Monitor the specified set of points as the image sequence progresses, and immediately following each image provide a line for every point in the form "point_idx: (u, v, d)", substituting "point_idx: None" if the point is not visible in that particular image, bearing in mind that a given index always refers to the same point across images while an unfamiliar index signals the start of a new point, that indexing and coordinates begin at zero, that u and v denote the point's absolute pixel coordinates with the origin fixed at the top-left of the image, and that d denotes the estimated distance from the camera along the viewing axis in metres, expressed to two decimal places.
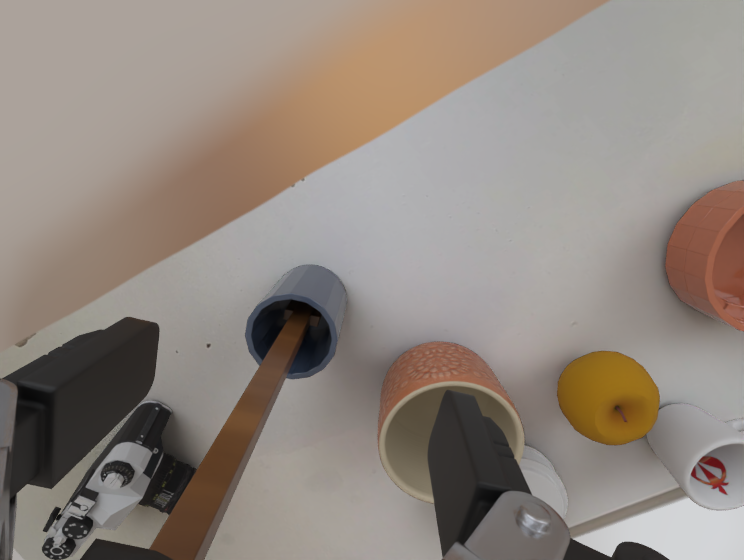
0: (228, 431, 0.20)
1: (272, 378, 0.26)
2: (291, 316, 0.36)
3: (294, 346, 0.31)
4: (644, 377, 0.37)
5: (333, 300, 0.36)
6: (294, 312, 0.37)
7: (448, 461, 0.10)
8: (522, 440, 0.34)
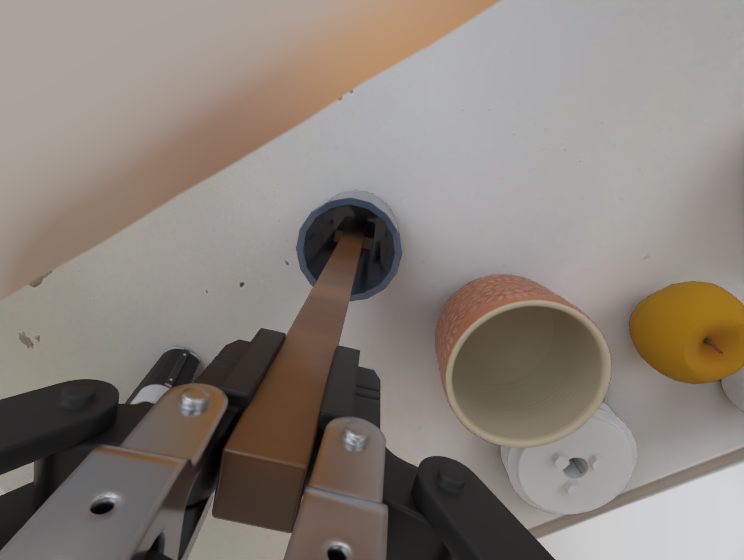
0: (318, 297, 0.16)
1: (347, 267, 0.22)
2: (345, 232, 0.32)
3: (359, 251, 0.26)
4: (739, 304, 0.33)
5: (391, 216, 0.32)
6: (347, 230, 0.32)
7: None
8: (609, 370, 0.30)
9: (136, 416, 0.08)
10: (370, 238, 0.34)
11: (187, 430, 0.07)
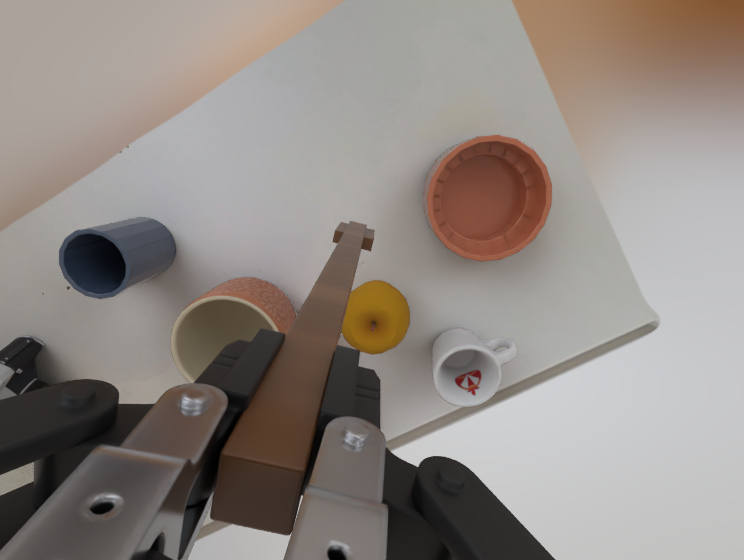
0: (317, 298, 0.16)
1: (347, 269, 0.22)
2: (345, 233, 0.32)
3: (359, 251, 0.26)
4: (390, 296, 0.46)
5: (139, 238, 0.46)
6: (347, 231, 0.33)
7: None
8: None
9: (136, 417, 0.08)
10: (370, 239, 0.34)
11: (187, 430, 0.07)
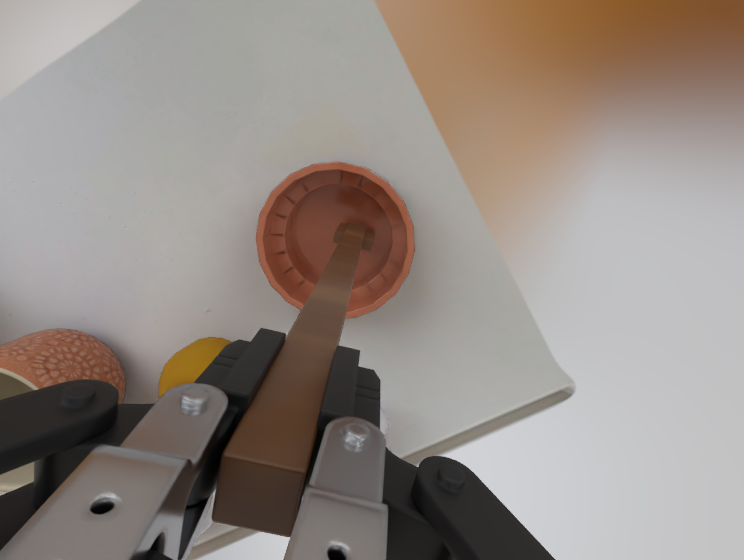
0: (317, 299, 0.16)
1: (347, 269, 0.22)
2: (345, 233, 0.32)
3: (359, 252, 0.26)
4: None
5: None
6: (347, 231, 0.33)
7: None
8: None
9: (136, 416, 0.08)
10: (370, 239, 0.34)
11: (187, 430, 0.07)
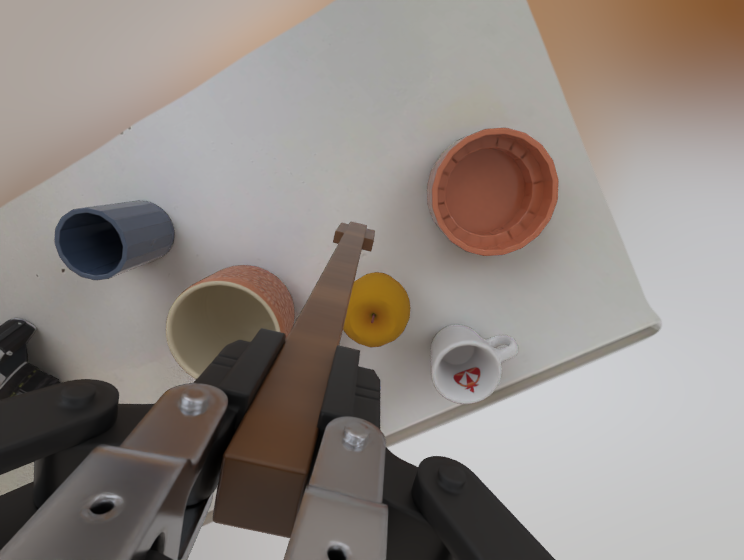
0: (318, 299, 0.16)
1: (347, 269, 0.22)
2: (345, 233, 0.32)
3: (359, 252, 0.26)
4: (391, 288, 0.46)
5: (137, 221, 0.45)
6: (347, 231, 0.33)
7: None
8: None
9: (136, 416, 0.08)
10: (370, 239, 0.34)
11: (187, 430, 0.07)
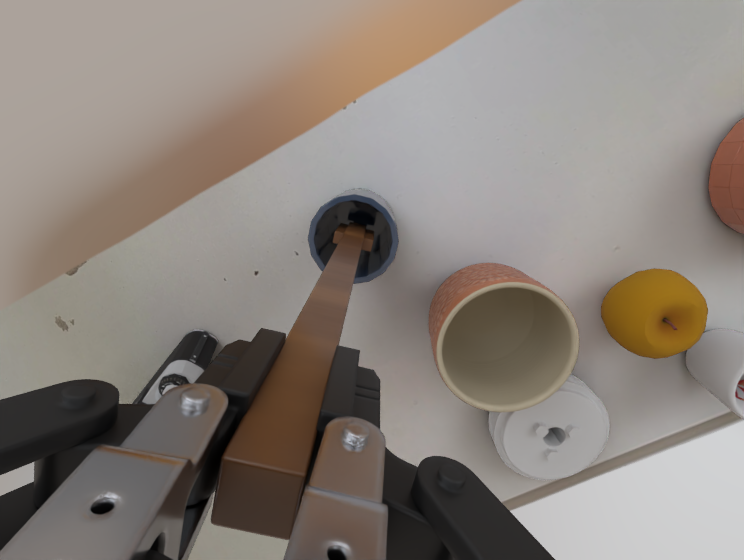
0: (317, 300, 0.16)
1: (347, 270, 0.22)
2: (345, 234, 0.32)
3: (359, 252, 0.26)
4: (693, 287, 0.38)
5: (389, 211, 0.37)
6: (347, 232, 0.33)
7: None
8: (577, 343, 0.35)
9: (137, 417, 0.08)
10: (369, 239, 0.34)
11: (187, 430, 0.07)
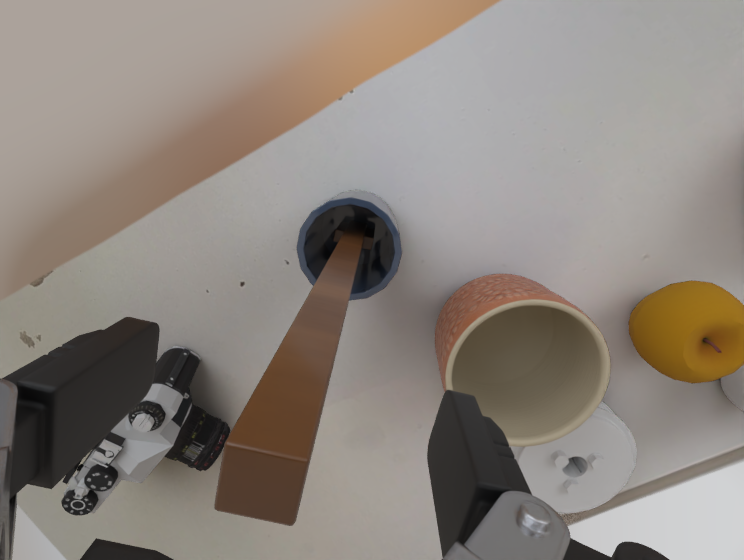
0: (318, 295, 0.16)
1: (347, 267, 0.22)
2: (345, 232, 0.32)
3: (359, 250, 0.27)
4: (738, 303, 0.33)
5: (391, 216, 0.32)
6: (347, 230, 0.33)
7: (448, 461, 0.10)
8: (608, 369, 0.31)
9: None
10: (370, 238, 0.34)
11: None
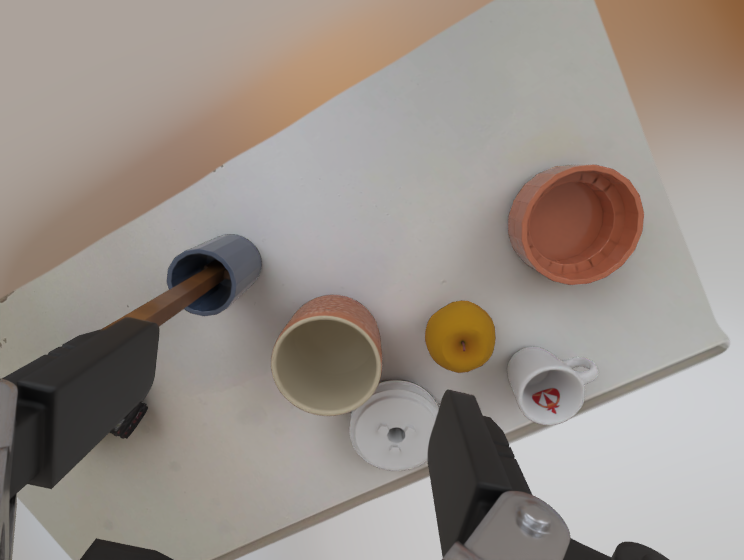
0: None
1: (168, 299, 0.37)
2: (205, 269, 0.46)
3: (197, 285, 0.41)
4: (480, 317, 0.48)
5: (239, 257, 0.47)
6: (209, 267, 0.47)
7: (448, 461, 0.10)
8: (379, 362, 0.45)
9: None
10: None
11: None
